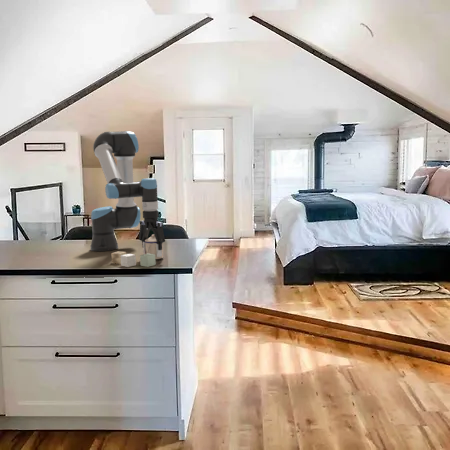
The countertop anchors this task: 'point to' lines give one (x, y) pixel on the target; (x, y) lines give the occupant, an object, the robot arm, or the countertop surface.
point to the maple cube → (117, 257)
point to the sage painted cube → (147, 260)
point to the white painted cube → (128, 260)
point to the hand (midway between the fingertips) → (152, 255)
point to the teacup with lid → (152, 246)
